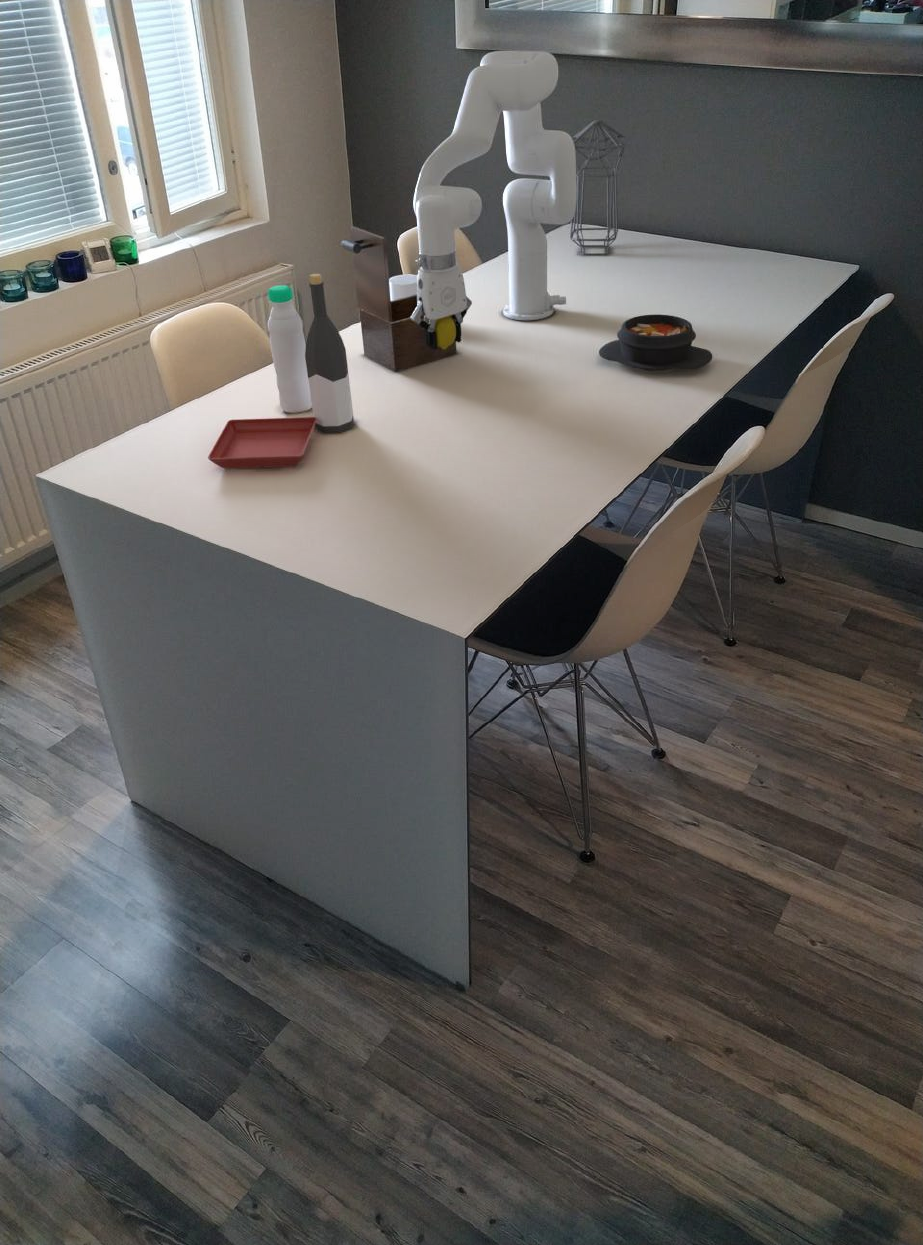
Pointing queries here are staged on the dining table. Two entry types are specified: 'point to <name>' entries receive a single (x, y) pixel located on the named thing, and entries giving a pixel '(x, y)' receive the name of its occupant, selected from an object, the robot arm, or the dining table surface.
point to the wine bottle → (327, 368)
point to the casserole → (656, 344)
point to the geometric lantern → (614, 139)
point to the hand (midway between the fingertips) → (444, 343)
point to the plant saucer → (262, 442)
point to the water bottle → (288, 351)
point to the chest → (399, 338)
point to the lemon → (445, 331)
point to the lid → (370, 272)
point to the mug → (403, 286)
